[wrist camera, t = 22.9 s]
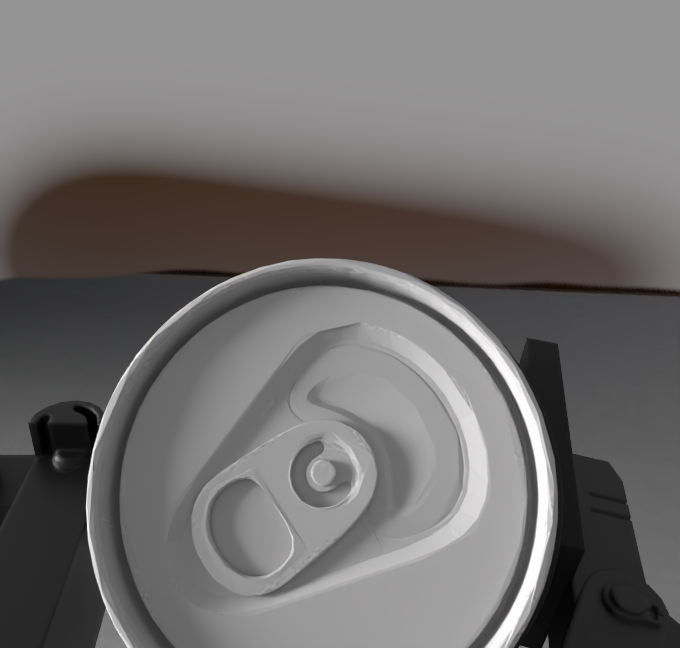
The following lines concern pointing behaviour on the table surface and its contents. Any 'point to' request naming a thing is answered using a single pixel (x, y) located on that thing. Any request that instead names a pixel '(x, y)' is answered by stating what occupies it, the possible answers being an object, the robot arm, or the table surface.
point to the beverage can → (324, 472)
